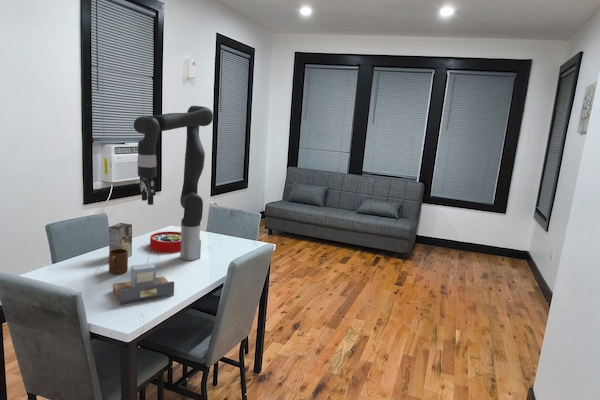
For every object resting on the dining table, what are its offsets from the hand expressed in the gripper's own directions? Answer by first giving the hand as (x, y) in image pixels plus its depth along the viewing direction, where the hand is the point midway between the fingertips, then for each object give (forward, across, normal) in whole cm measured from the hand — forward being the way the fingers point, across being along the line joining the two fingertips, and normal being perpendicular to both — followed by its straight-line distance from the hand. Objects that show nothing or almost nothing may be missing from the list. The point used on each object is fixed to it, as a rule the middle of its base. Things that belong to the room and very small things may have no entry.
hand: (147, 202), depth 172 cm
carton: (+29, +19, -8) cm, 36 cm away
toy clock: (+33, -32, +21) cm, 51 cm away
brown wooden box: (+32, +19, -8) cm, 38 cm away
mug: (+32, -5, -12) cm, 35 cm away
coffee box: (+32, -25, -6) cm, 41 cm away
